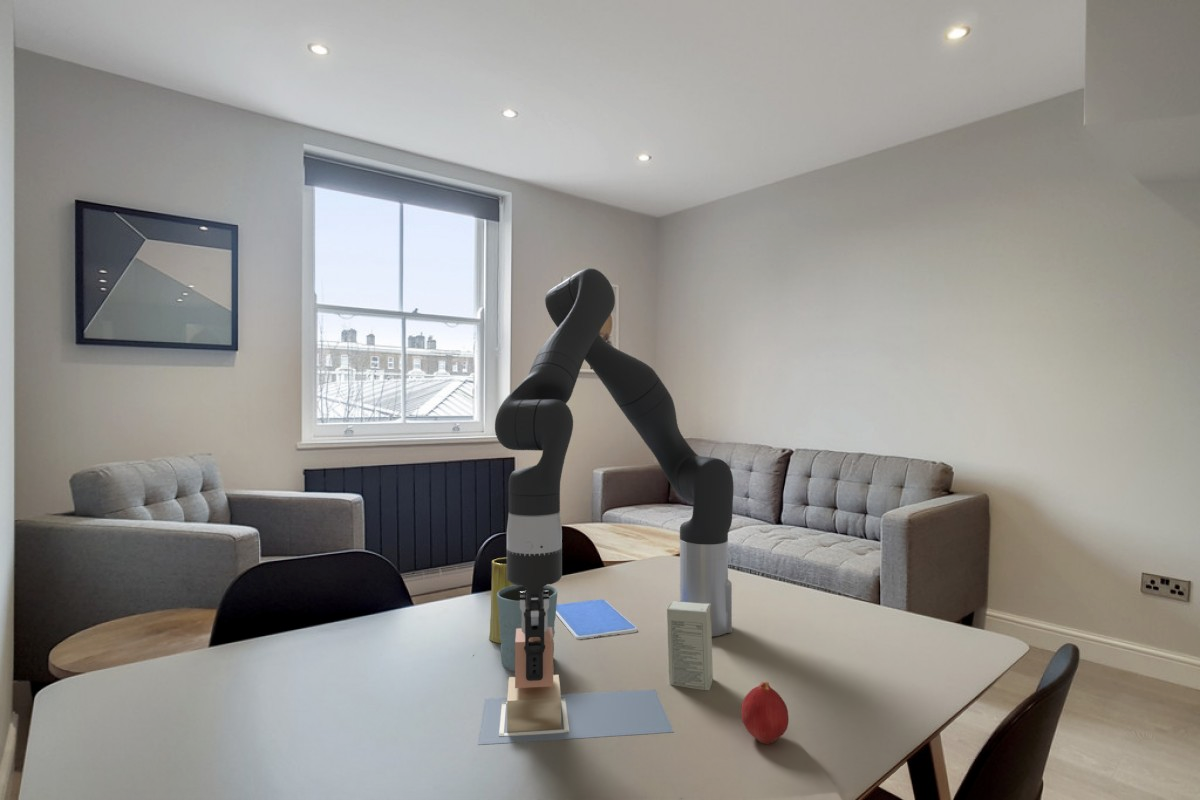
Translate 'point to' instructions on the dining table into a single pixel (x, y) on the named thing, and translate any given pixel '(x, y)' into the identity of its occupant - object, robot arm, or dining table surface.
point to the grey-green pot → (517, 619)
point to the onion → (764, 713)
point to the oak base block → (533, 707)
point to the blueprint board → (583, 718)
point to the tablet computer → (593, 619)
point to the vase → (497, 584)
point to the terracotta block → (521, 660)
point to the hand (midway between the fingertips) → (534, 669)
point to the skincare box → (690, 645)
